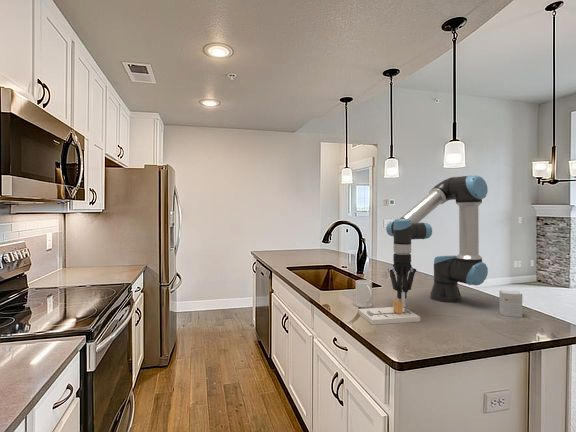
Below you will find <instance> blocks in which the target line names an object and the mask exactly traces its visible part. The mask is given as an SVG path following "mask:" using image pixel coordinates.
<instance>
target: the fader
mask: <svg viewBox="0 0 576 432" xmlns="http://www.w3.org/2000/svg"><path fill="white" fill-rule="evenodd" d="M392 307H393V311H394V312H395V313H397V314H402V313H403V308H404V307H403V302H401V301H399V299H394V300H392Z"/></svg>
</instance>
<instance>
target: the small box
mask: <svg viewBox="0 0 576 432" xmlns="http://www.w3.org/2000/svg"><path fill="white" fill-rule="evenodd" d="M498 309H499V314H500V315H501V316H504V317H516V318H523V294H522V293H521V292H520V291H516V290H515V291H514V290H502V289H501V290H499V308H498Z"/></svg>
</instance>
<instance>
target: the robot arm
mask: <svg viewBox="0 0 576 432" xmlns="http://www.w3.org/2000/svg"><path fill="white" fill-rule="evenodd" d="M488 192H489V190H488V184H487V182H486V180H485V179H484V177H482V176H480V175H465V176H464V175H463V176H453V177H449V178H446V179H444V180H442V181H441V182H439V183H437V184H436V185H435V186H433V187H432V188H431V189H430V190H429V192H428V194H427V195H425V197H423V198H422V199H421V200H420V201H418V203H416V204H415V205H414V206H413V207H412V208H410V209H409V210H408V211H406V213H405V214H404V215H402V216H401V217H400V218H396V219H394V220H393V221H389V222H388V223H387V225H386V229H385V230H386V233H387V235H389V236H390V237H393V257H392V258H393V260H392V261H393V264H392V267H391V268H388V269H387V271H388V273H389V276H390V281H391V285H392V286H391V287H392V289H393V291H396V292H397V296H396V298H397V300H399V301H401V302H403V308H405V307H406V299H407V297H408V296H407V295H408V292H409V291H411V290H412V287H413V282H414V277H415V274H416V272H417V268H414V267H413V265H412V263H411V262H412V254H411V253H412V240H426V239H430V238H431V236H432V235H433V227H432V225H431V224H430V223H427V222H421V221H423V219H425V218H426V217H427V216H428V215H429V214H430V213H431V212H433V211H434V210H435V209H436V208H437V207H439V206H440V205H443V204H445V203H446V202H448V201H451V200H452V201H453V200H455V204H456V205H457V206H458V222H459V223H458V225H459V227H458V228H459V230H458V231H459V232H458V233H459V235H458V237H459V238H458V239H459V241H458V242H459V243H458V244H459V245H458V246H459V251H458V252H459V253H458V254H457V255H438V256H435V257H434V260H433V286H432V288H431V291H430V295H429V297H430V299H433V300H434V301H439V302H445V303H456V302H460V301H462V294H461V291H460V288H459V286H458V285H459V284H458V283H461V284H466V285H469V286H480V285H482V284H483V283H484V282H485V281H486V280H487V276H488V272H489V269H488V266H487V264H486V263H485V262H483V257H482V256H481V255H480V254H479V250H480V249H479V247H480V246H479V243H480V242H479V241H480V240H479V238H480V237H479V227H480V226H479V206H481V204H482V203H483V199H485V198H486V197H487V195H488ZM395 273H396V274H395Z"/></svg>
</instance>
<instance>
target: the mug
mask: <svg viewBox="0 0 576 432" xmlns="http://www.w3.org/2000/svg"><path fill="white" fill-rule="evenodd" d="M372 300H373V281H372V280H369V279H368V280H365V279H358V280H355V303H354V305H355V307H359V308H372V307H373V301H372Z"/></svg>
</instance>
